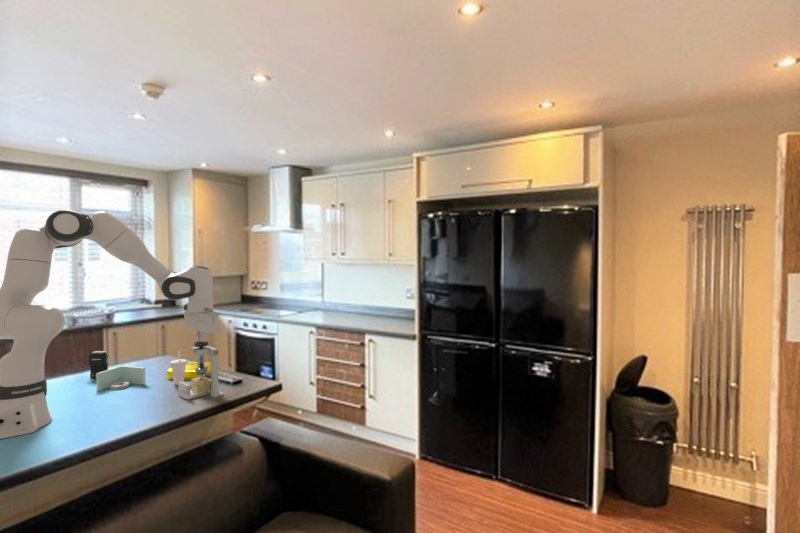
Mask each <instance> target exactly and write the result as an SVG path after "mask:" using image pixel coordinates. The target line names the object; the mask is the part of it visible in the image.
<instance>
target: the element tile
mask: <svg viewBox="0 0 800 533" xmlns="http://www.w3.org/2000/svg"><path fill="white" fill-rule="evenodd" d="M205 367H208V373H210V372H211V361H210V362H209V361H208V362H205ZM196 368H197V361H187V363H186V368H185V377H184V381H185V380H186V381H191V379H193V378H197V377H198V375H197V374H196V372H195V369H196ZM208 373H207V374H208ZM166 374H167V375H166V378H167V380H170V381H172V380H173V375H172V368H168V369H167V370H166ZM207 374H205V377H207V376H208V375H209V374H208V375H207ZM210 374H211V373H210ZM206 375H207V376H206Z"/></svg>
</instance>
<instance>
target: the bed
mask: <svg viewBox="0 0 800 533" xmlns="http://www.w3.org/2000/svg"><path fill="white" fill-rule="evenodd" d="M177 386H178V387H177V388H178V397H182V398H183V399H185V400H192V399H196V398H199V397H203V396H207V395H210V394H211V378H210V390H207V391H203V392H199V393H197V392H194V391H192V390H191V384H187V383H186V382H184V383H183V382H178V385H177Z"/></svg>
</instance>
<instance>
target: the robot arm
mask: <svg viewBox="0 0 800 533" xmlns="http://www.w3.org/2000/svg"><path fill="white" fill-rule="evenodd" d="M45 221H46V222H45V225H44V226H42V227H39V228H36V227H35V228H33V227H27V228H22V229H19V230H17V231H16V232H15V234H14V236H13V238H12V240H11V243H10V246H9V250H8V253H7V259H6V265H5V270H4V276H3V281H2V284H1V287H0V340H1V339H2V340H13V344H12V347H11V349H10V351H9V352H8V353H6V354H4V355H3V356H2V357H0V440H1V439H6V438H12V437H15V436H16V437H17V436H22V435H27V434H31V433H34V432H36V431H38V429H40V428H43V427H45V426H46V425H49V424H50V423H51V422H52V421H53V418H52V416H51V413H50V411H49V407H48V403H47V402H48V401H47V397H46V396H47V394H48V381H47V378H45V360H46V359H45V358H46V353H47V351H48V350H47V349H48V347H49V345H50V344H51V342H52V341H53V339H55V337H57V336H58V335H59V334H60V333H61V332H62V331H63V329H64V328H65V323H66V317H65V315H64V313H63V311H62V310H60V309H59V308H55V307H54V306H53V307H52V306H49V305H45V304H32V302H33V301H34V299H35V297H36V296H37V295H38V294H40V293H41V292H43V291H44V290H46V288H48V286H49V281H50V274H51V266H52V260H53V253H54V250H55V249H63V248H70V247H74V246H76V245H78V244H80V243H81V242H82V241H83V240H89V241H92V242H94V243H95V244H97V245H98V246H100V247H101V248H102V249H103V250H104V251H106V253H108V254H110V255H111V256H113V257H114V258H116V259H118V260H120V261H122V262H124V263H128V264H131V265H132V266H136V267H138V268H139V269H140V270H142V271H143V272H144V273H145V274H147V275H148V276H149V277H150V278H152V279H153V280H154V281H155V282H156V283H157V285H159V288H160V290H161V292H162V294H163V296H164V297H165V298H167V299H168V300H172V301H180V300H182V299H186V298H187V300H188V302H187V303H185V304H183V305H182V307H183V308H182V310H183V311H184V313H183V316H184V326H185V328H186V329H189V330H194V331H195V335H196V338H197V339H196V341H198V342H201V343H202V342H205V341H206V338H207V334H210V335H211V334H216V333H218V329H219V324H218V323H219V322H218V316H217V314H216V312H215V311H214V296H213V289H214V286H213V285H214V282H213V273H212V271H211V269H210V268H209V267H207V266H206V267H205V266H201V265H191V266H189V267H187V268H186V269H184V270H182V271H179V272H175V271H172V270H171V269H169V268H167V267H166V266H165V265H164V264H163V263H161V262H160V261H159V260H157V258H155V257H154V256H153V255H152V253H151V252H150V251H149V250H148V248H147V246H146V245H145V243H144V241H143V240H142V239H141V238H140V236H138V235H137V233H136V232H134V230H133V229H131V228H130V227H129V226H128V225H127V224H125V223H124V222H122V221H121V220H120V219H118V218H116V217H115V216H113V215H112V214H111V213H108V212H106V211H102V210H101V211H97V212H93V213H92V214H90V215H88V214H85V213H82V212H81V213H80V212H78V211H74V210H70V209H59V210H57V211H53V212H52V213H51V214H50V215H49V216H48V217H47V219H46V220H45Z"/></svg>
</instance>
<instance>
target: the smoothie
mask: <svg viewBox="0 0 800 533" xmlns="http://www.w3.org/2000/svg"><path fill="white" fill-rule="evenodd" d="M187 362H188V361H187V359H183V358H182V359H181V350H178V359H173V360H171V361H170V362H169V365H170V367H171V368H172V375H173V381H172V382H173V385H174V386H178V382H183V383H185V380H184V377H185V368H186V363H187Z"/></svg>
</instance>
